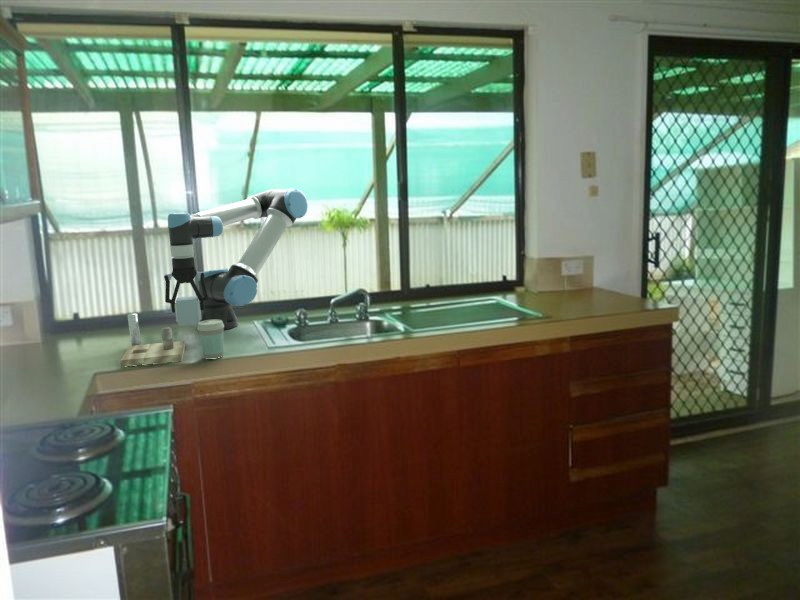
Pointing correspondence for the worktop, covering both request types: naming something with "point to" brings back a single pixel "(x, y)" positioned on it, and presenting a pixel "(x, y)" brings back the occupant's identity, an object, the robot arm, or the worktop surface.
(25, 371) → the worktop surface
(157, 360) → the board
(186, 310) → the block
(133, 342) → the peg
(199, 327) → the coffee cup
